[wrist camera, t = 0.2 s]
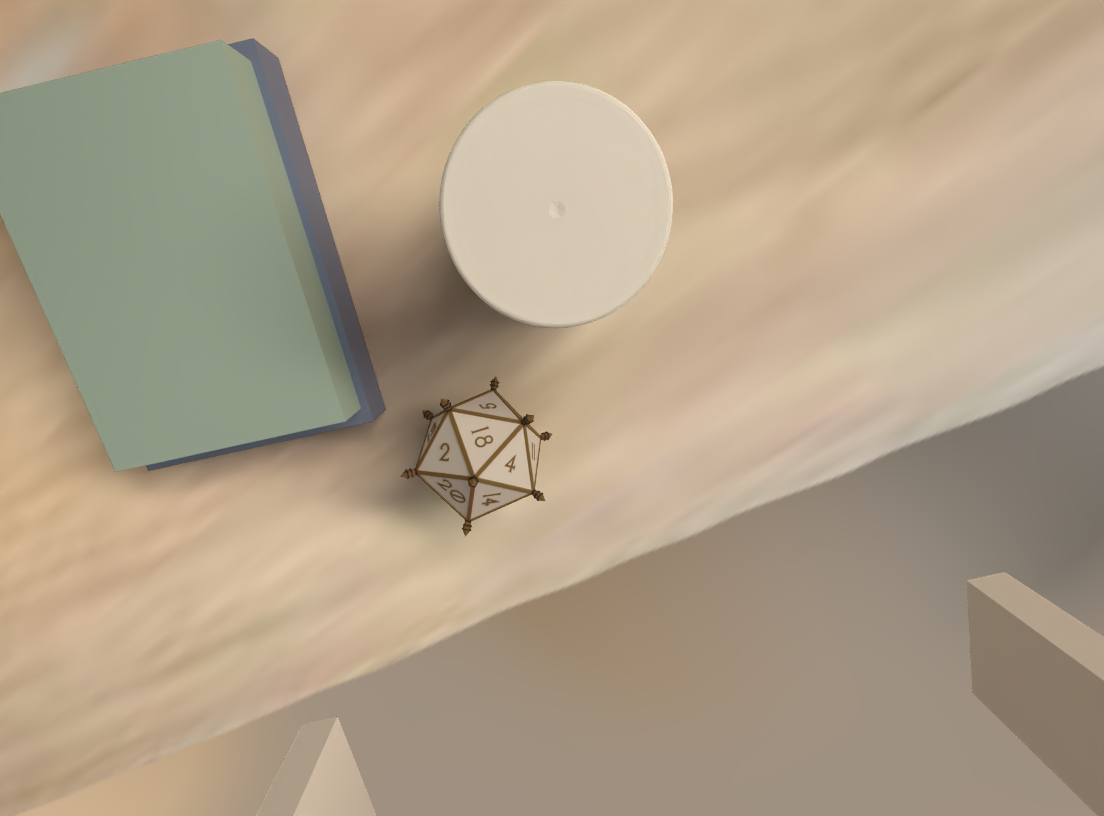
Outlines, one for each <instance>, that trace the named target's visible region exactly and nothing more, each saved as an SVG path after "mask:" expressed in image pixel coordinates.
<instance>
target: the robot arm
mask: <svg viewBox="0 0 1104 816" xmlns="http://www.w3.org/2000/svg"><path fill="white" fill-rule="evenodd" d="M967 597H968V616H969V633H970V634H969V635H970V654H971V673H972V689H973V691H972V692H973V694H974V695H975V696H976V697H977V698H978V699H979V700H980V701H981V702H982V703H983V704H984V705H985V706H986V707H987V708H988V709H989V710H990V711H991V712H992V713H993V714H995V715H996V716H997V717H998V718H999V719H1000V720H1001V721H1002V722H1003V723H1004V724H1005V725H1006V726H1007V727H1008V728H1009V729H1010V730H1011V731H1012V732H1013V733H1014V734H1015V735H1016V736H1017V737H1018V738H1019V739H1020V740H1021V741H1022V742H1023V743H1024V744H1025V745H1026V746H1027V747H1028V748H1029V749H1030V750H1031V751H1032V752H1033V753H1034V754H1035V755H1036V756H1038V758H1039V759H1040V760H1042V761H1043V762H1044V763H1045V764H1046V765H1047V766H1048V767H1049V768H1050V769H1051V770H1052V771H1053V772H1054V773H1055V774H1056V775H1057V776H1058V777H1059V778H1060V779H1061V780H1062V781H1063V782H1064V783H1065V784H1066V785H1067V786H1068V787H1069V788H1070V789H1071V790H1072V791H1073V792H1074V793H1075V794H1076V795H1077V796H1078V797H1079V798H1080V799H1081V800H1082V801H1083V802H1084V803H1085V804H1086V805H1087V806H1088V807H1090V808H1091V810H1092V811H1093V812H1095V813H1096V814H1097V815H1098V816H1104V637H1103V636H1102V635H1100V634H1099V633H1097V632H1095V631H1094V630H1092V629H1091V628H1089V627H1088V626H1086V625H1085V624H1083V623H1082V622H1080V621H1079V620H1077V619H1075V618H1074V617H1073V616H1071V615H1069V614H1068V613H1066V612H1065V611H1063V610H1062V609H1060V608H1059V607H1057V606H1056V605H1054V604H1053V603H1051V602H1050V601H1048V600H1046V599H1045V598H1043V597H1042V596H1040V595H1039V594H1037V593H1036V592H1034V591H1033V590H1031V589H1029V588H1028V587H1027V586H1025V585H1024V584H1022V583H1020V582H1019V581H1017V580H1016V579H1014V578H1013V577H1011V576H1010V575H1008V574H1007V573H1005V572H1004V573H999V574H994V575H989V576H985V577H981V578H976V579H971V580H967ZM255 816H376V813H375V811H374V808H373V806H372V803H371V801H370V798H369V796H368V793H367V791H366V788H365V786H364V783H363V780H362V778H361V775H360V773H359V770H358V768H357V765H356V763H355V760H354V758H353V755H352V753H351V750H350V747H349V745H348V742H347V740H346V737H345V735H344V732H343V730H342V727H341V725H340V722H339V719H338V717H333V718H329V719H324V720H320V721H315V722H310V723H305V724H302V725H301V727H300V729H299V731H298V733H297V735H296V737H295V739H294V741H293V743H292V745H291V747H290V749H289V751H288V752H287V754H286V757H285V758H284V760H283V762H282V764H281V766H280V768H279V770H278V772H277V774H276V776H275V778H274V780H273V782H272V784H271V786H270V788H269V789H268V792H267V793H266V795H265V797H264V799H263V801H262V803H261V805H260V807H259V809H258V811H257V813H256V815H255Z"/></svg>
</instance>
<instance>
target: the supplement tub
mask: <svg viewBox="0 0 1104 816" xmlns="http://www.w3.org/2000/svg"><path fill="white" fill-rule="evenodd" d="M439 206H440V220H441V227H442V232H443V236H444V239H445V243H446V246H447V249H448V252H449V254H450V256H451V259H452V261H453V263H454V265H455V266H456V268H457V270H458V272H459V273H460V275H461V276H462V278H463V279H464V281H465V282H466V283H467V284H468V286H469V287H470V288H471V289H472V290H473V291H474V292H475V294H476V295H477V296H478V297H479V298H480V299H481V300H483V301H484V302H485V303H486V304H488V305H489V306H490V307H492V308H493V309H494V310H496V311H498V312H499V313H501V314H503V315H505V316H507V317H509V318H511V319H513V320H516V321H518V322H521V323H524V324H528V325H532V326H537V327H545V328H565V327H573V326H578V325H583V324H586V323H590V322H593V321H596V320H598V319H601V318H603V317H605V316H607V315H609V314H611V313H613V312H614V311H616V310H617V309H619V308H620V307H622V306H623V305H624V304H626V303H627V302H628V301H630V300H631V299H632V298H633V297H634V296H635V295H636V294H637V293H638V292H639V291H640V290H641V289H642V288H643V286H644V285H645V284H646V283H647V281H648V280H649V279H650V277H651V276H652V274H653V273H654V271H655V269H656V268H657V266H658V264H659V262H660V260H661V258H662V256H663V253H664V251H665V248H666V245H667V242H668V238H669V234H670V230H671V224H672V214H673V194H672V185H671V180H670V176H669V171H668V168H667V164H666V161H665V158H664V156H663V153H662V151H661V149H660V147H659V145H658V143H657V141H656V140H655V138H654V137H653V135H652V133H651V132H650V130H649V129H648V128H647V126H646V125H645V124H644V123H643V121H642V120H641V119H640V118H639V117H638V116H637V115H636V114H635V113H634V112H633V111H632V110H631V109H629V108H628V107H627V106H626V105H625V104H623V103H622V102H620V101H619V100H617V99H616V98H614V97H613V96H611V95H609V94H607V93H605V92H603V91H601V90H599V89H596V88H593V87H591V86H588V85H584V84H580V83H575V82H566V81H545V82H538V83H533V84H528V85H525V86H521V87H519V88H516V89H513V90H511V91H509V92H507V93H505V94H503V95H501V96H499V97H498V98H496V99H494V100H493V101H492V102H490V103H489V104H488V105H486V106H485V107H484V108H482V109H481V110H480V111H479V112H478V113H477V114H476V115H475V116H474V117H473V118H472V119H471V120H470V122H469V123H468V124H467V125H466V127H465V128H464V129H463V131H462V132H461V134H460V135H459V137H458V138H457V140H456V142H455V144H454V145H453V148H452V150H451V152H450V154H449V157H448V159H447V162H446V165H445V169H444V172H443V176H442V182H441V189H440V205H439Z"/></svg>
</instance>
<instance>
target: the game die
mask: <svg viewBox="0 0 1104 816" xmlns="http://www.w3.org/2000/svg"><path fill="white" fill-rule="evenodd" d="M490 382H491V384H490V386H491V390H489V391H486V392H484V393H482V394H479V395H477V396H475V397H472V398H470V399H468V400H465V401H463V402H461V403H458V404H456V405H454V406H451V403H449V400H445V399H441V403H440V405H441V407H442V408H443V409H444V411H442V412H440V413H438V414H436V415H435V416H433V414H432V413H431V412H430V411H428V410H427V411H422V412H423V415H424V418H426V419H427V420H428V419H429V420H431V421H430V424H429V427H428V430H427V433H426V437H425V440H424V443H423V446H422V449H421V452H420V456H419V459H418V462H417V465H416V468H415V469H411V468H410V469H409V470H407V469H406V471H405V472H404V473H403V474H402V475H401V477H406V478H407V479H408V478H409V477H413V476H414V475H418V476H419V477H420V478H421V479H422V480H423V481H424V482H425V483H426V484H427V485H428V486H429V487H430V488H432V489H433V490H434V491H435V492H436V493H437V494H438V495H439V496H440V497H441V498H442V499H443V500H444V501H446V502H447V503H448V504H449V505H450V506H451V507H452V508H453V509H454V510H455V511H456V512H457V513H458V514H459V515H461V516H462V517H463V518H464V519H465V523H464V524H463V525H464V526H463V528H462V529H463V531H464V534H465V536H466V535H467V534H468V533H469V532H470V531H471V527H472V526H471V521H473V520H475V519H477V518H480V517H482V516H484V515H486V514H489V513H491V512H493V511H495V510H498V509H500V508H502V507H504V506H507V505H509V504H511V503H513V502H516V501H518V500H520V499H522V498H525V497H527V496H529V495H531V494H532V495H533V496H534V498H535V499H537V501H539V500H540V501H545V498H544V496H543V493H541V492H540V491H536V490H535V484H536V475H537V467H538V459H539V451H540V443H541V440H544V441H545V440H549V438H550V437H551V435H552V434H551V433H548V432H545V433H541V435H539V434H538V433H537V432H536V431H535V430H534V429H533V428H532V427H531V426H530V425H529V424H530V423H531V422H533V418H534V415H528V414H526V416H524V418H522V417H521V416H520V415H519V414H518V413H517V412H516V410H515V409H514V408H513V407H512V406H511V405H510V404H509V403H508V402H507V401H506V400H505V399H504V398H503V397H502V396H501V395H500V394H499V393H498V392H497V391H496V389H497V387H498V384H499V382H498V380H497V378H496V377H495V378H494V379H493V380H492V381H490Z"/></svg>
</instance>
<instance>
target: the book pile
mask: <svg viewBox="0 0 1104 816" xmlns="http://www.w3.org/2000/svg"><path fill="white" fill-rule="evenodd" d="M0 215H1V217H2V219H3V222H4V224H5V226H6V228H7V231H8V233H9V235H10V237H11V240H12V242H13V244H14V246H15V249H16V251H17V253H18V255H19V257H20V260H21V262H22V264H23V266H24V269H25V271H26V273H27V275H28V278H29V280H30V282H31V284H32V286H33V289H34V291H35V293H36V295H37V298H38V300H39V302H40V304H41V307H42V309H43V311H44V313H45V315H46V318H47V320H48V322H49V324H50V327H51V329H52V331H53V333H54V336H55V338H56V340H57V342H58V344H59V347H60V349H61V351H62V353H63V356H64V358H65V360H66V362H67V365H68V367H69V369H70V371H71V374H72V376H73V378H74V380H75V382H76V385H77V387H78V389H79V391H80V394H81V396H82V398H83V400H84V403H85V405H86V407H87V409H88V411H89V414H90V416H91V418H92V420H93V423H94V425H95V427H96V429H97V432H98V434H99V436H100V438H101V440H102V443H103V445H104V447H105V449H106V452H107V454H108V456H109V458H110V461H111V463H112V465H113V467H114V470H115V472H118V471H123V470H127V469H132V468H136V467H141V466H145V465H146V467H147V469H148V471H150V470H155V469H159V468H164V467H168V466H173V465H178V464H182V463H187V462H191V461H196V460H200V459H205V458H209V457H214V456H219V455H223V454H228V453H232V452H237V451H241V450H246V449H251V448H255V447H260V446H264V445H269V444H273V443H278V442H282V441H287V440H292V439H296V438H301V437H305V436H310V435H314V434H319V433H323V432H328V431H333V430H337V429H342V428H346V427H351V426H355V425H360V424H365V423H369V422H373V421H374V420H375V419H376V418H377V417H378V416H380V415H381V414H382V413H383V412H384V411H385V410H386V409H385V406H384V403H383V399H382V396H381V393H380V390H379V386H378V383H377V380H376V377H375V373H374V370H373V367H372V363H371V360H370V357H369V354H368V350H367V347H366V344H365V341H364V337H363V334H362V331H361V327H360V324H359V321H358V318H357V314H356V311H355V308H354V305H353V301H352V298H351V295H350V291H349V288H348V285H347V282H346V278H345V275H344V272H343V269H342V265H341V262H340V259H339V255H338V252H337V249H336V246H335V242H334V239H333V236H332V233H331V229H330V226H329V223H328V219H327V216H326V213H325V210H324V206H323V203H322V200H321V196H320V193H319V190H318V187H317V183H316V180H315V177H314V174H313V170H312V167H311V164H310V160H309V157H308V154H307V151H306V147H305V144H304V141H303V138H302V134H301V131H300V128H299V124H298V121H297V118H296V115H295V111H294V108H293V105H292V102H291V98H290V95H289V92H288V88H287V85H286V82H285V79H284V75H283V72H282V69H281V66H280V62H279V59H278V57H276V56H275V55H274V54H273V53H271V52H270V51H269V50H268V49H266V48H265V47H264V46H262V45H261V44H260V43H259V42H257V41H256V40H255V39H254V38H253V39H248V40H244V41H240V42H236V43H232V44H226V43H225V42H223V41H222V40H218V41H214V42H210V43H206V44H202V45H197V46H193V47H189V48H185V49H181V50H177V51H173V52H168V53H164V54H160V55H156V56H152V57H148V58H143V59H139V60H135V61H131V62H127V63H123V64H119V65H114V66H110V67H106V68H102V69H98V70H94V71H89V72H85V73H81V74H77V75H73V76H69V77H65V78H60V79H56V80H52V81H48V82H44V83H40V84H35V85H31V86H27V87H23V88H19V89H15V90H11V91H6V92H2V93H0Z"/></svg>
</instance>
